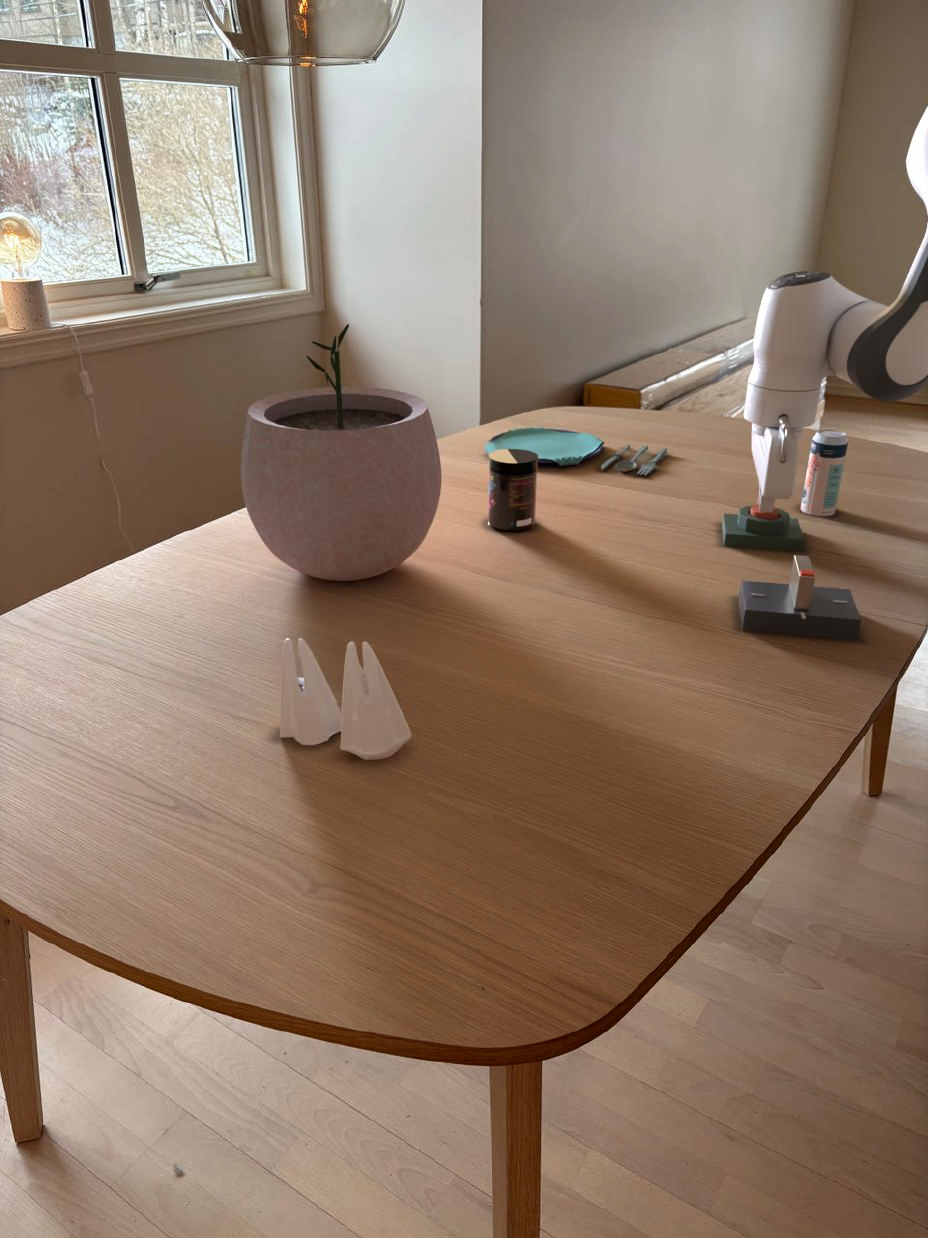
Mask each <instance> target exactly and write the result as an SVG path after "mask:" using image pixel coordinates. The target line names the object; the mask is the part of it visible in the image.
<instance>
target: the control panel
mask: <svg viewBox="0 0 928 1238" xmlns="http://www.w3.org/2000/svg"><path fill="white" fill-rule="evenodd" d="M738 607H739V616H740V624H741V630H742V631H745V632H756V633H769V634H780V635H789V636H791V635H792V636H800V637H801V636H802V637H812V638H813V637H814V638H823V639H834V640H845V641H855V642H857V641H858V637H859V634H860V633H859V632H860V627H861V623H862V618H861V616H860V613H859V610H858V608H857V604H856V602H855V600H854V596H853V594H852V591H851V590H850V589H849V588H837V587H826V586H815V585H814V588H813V593H812V599H811V604H810V610H809V611H808V610H797V609H794V606H793V602H792V598H791V593H790V589H789V583H779V582H767V581H766V582H765V581H752V580H741V581H740V586H739V594H738Z"/></svg>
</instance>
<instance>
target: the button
mask: <svg viewBox="0 0 928 1238" xmlns="http://www.w3.org/2000/svg"><path fill="white" fill-rule="evenodd" d="M751 506H752V507H751V512H750V515H751V516H753V517H757V518H761V519H776V518H778V513H779V510H778V509H777V508H778V507H775V506H774V510H773V512H771V513H764V512H761V511H760V510H759V505H758V504H755V506H753V505H751Z"/></svg>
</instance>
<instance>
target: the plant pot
mask: <svg viewBox="0 0 928 1238" xmlns="http://www.w3.org/2000/svg"><path fill="white" fill-rule="evenodd" d="M349 328H350V325H349V323H347V324H346V325H345V327H344V328H343V329H342V331H341V332H340V334H339V335H338V337H337V335H335V336H334V338H333V341H332V344H331V346H327V345H325V344H322V343H320V342H317V341H314V340H313V341H311V343H312V344H313V345H315V346H317V347H319V348H321V349H323V350H326V351H330V355H329V356H330V357H329V360H330V364H331V369H332V370H333V372H334V382H333V380H332V378H331V376H330V375H329V374H328V372H326V369H324V367H322V366H321V365H319V364H318V363H317V362H316V361H315V360H313V359H312V358H311V357H310V356H309V355H305V356H306V358H307V360H308V361H309V362H310V364H312V366H313V367H314V369H316V370H318V371H320V372H322V373H324V376H325V379H326V383H327V386H325V387H324V386H323V387H315V388H313V387H312V388H303V389H297V390H291V391H284V392H280V393H276V394H273V395H269V396H266V397H264V398H261V399H259V400H256V401H255V402H254V403H252V404H251V405H250V406H249V407H248V410H247V415H246V420H245V426H244V431H243V436H242V437H243V438H242V447H241V457H240V458H241V459H240V485H241V491H242V492H241V493H242V496H243V501H244V505H245V508H246V512H247V514H248V516H249V519H250V521H251V523H252V525H253V527H254V529H255V531H256V532H257V534H258V536H259V537H260V539H261V541H262V542H263V544H264V545H265V547H266V548H267V549H268V551H270V553H271V554H273V556H274V557H276V558H277V559H278V560H279V561H281V562H282V563H284V564H285V565H287V566H288V567H290V568H291V569H293V570H295V571H297V572H299V573H301V574H304V575H307V576H310V577H313V578H316V579H319V580H324V581H325V580H326V581H336V582H350V581H351V582H352V581H353V582H354V581H359V580H365V579H369V578H373V577H376V576H380V575H383V574H384V573H387V572H388V571H391V570H392V569H395V568H397V567H398V566H399V565H401V564H402V563H403V562H405V561H407V559H408V558H410V557H411V556H412V555H413V554H414V553H416V551H417V550H418V549H419V548H420V547H421V545H422V544H423V542H424V541H425V539H426V537H427V535H428V533H429V531H430V528H431V526H432V524H433V522H434V519H435V517H436V514H437V510H438V507H439V502H440V497H441V491H442V466H441V465H442V464H441V457H440V451H439V445H438V440H437V436H436V432H435V428H434V424H433V421H432V417H431V414H430V409H429V407H428V405H427V402H426V401H425V400H424V399H422V398H421V397H419V396H418V395H414V394H410V393H408V392H404V391H399V390H394V389H388V388H381V387H380V388H378V387H369V386H368V387H367V386H342V377H341V375H342V374H341V361H340V360H341V359H340V358H341V357H340V350H339V348H340V345H341V344H342V342H343V340H344V338H345V335H346V334H347V331H348V329H349ZM329 383H330V385H329Z"/></svg>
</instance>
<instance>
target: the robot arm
mask: <svg viewBox="0 0 928 1238" xmlns="http://www.w3.org/2000/svg"><path fill="white" fill-rule="evenodd" d="M905 158H906V159H905V166H906V172H907V176H908V179H909V181H910V184H911V186H912V188H913V190H914V191H915V192H916V194H917V195H918V196H919V197H920V199H921V200H922V201H923V203H924V206H925V208H926V213H927V214H928V106H927V107H926V108H925V111H924V112H923V114H922V116H921V118H920V120H919V122H918V125H917V126H916V128H915V130H914V133H913V136H912V138H911V141H910V144H909V148H908V150H907V154H906V157H905ZM924 234H925V235H924V237H923V238H922V241H921V244H920V246H919V248H918V250H917V253H916V255H915V258H914V260H913V262H912V264H911V267H910V268H909V271H908V273H907V276H906V279H905V281H904V282H903V285H902V286H901V289H900V291H899V294H898V296H897V297H896V299H895V300H894V301H893V302H892V303H891V304H890V305H886V304H884V303H882V302H879V301H874V300H871V299H869V298H867V297H864V296H863V295H860V294H858V293H855V292H854V291H852V290H850V289H848V288H847V287H845V286H844V285H842V284H841V283H839V282H838V281H837V280H836V279H835V278H834V277H833V275H832V274H831V273H829V272H827V271H822V270H807V271H806V270H802V271H795V272H789V273H786V274H782V275H780V276H778V277H776V278H775V279H773V280H772V281H771V282H769V284H768V285H767V287H766V288H765V291H764V293H763V296H762V298H761V303H760V306H759V309H758V313H757V319H756V324H755V329H754V335H753V341H752V350H753V365H752V368H751V371H750V374H749V376H748V379H747V386H746V387H747V389H746V394H745V395H746V396H745V401H744V410H743V418H744V420H746V421H747V422H749V423H751V454H752V458H753V462H754V463H753V464H754V467H755V471H756V476H757V478H758V479H757V480H758V484H759V486H758V489H759V490H758V498H757V505H759V510H760V511H761V512H764V513H771V512H773V510H774V507H775V503H776V500H777V499H779V500H789V499H791V498H792V496H793V493H794V490H795V484H796V476H797V469H798V461H799V451H800V441H799V439H800V438H799V437H802V436H803V434H804V428H807V427H810V426H812V425H814V424H815V422H816V418H817V412H818V407H819V401H820V395H821V387H822V383H823V380H824V379H825V378H826V377H830V376H836V377H838V378H839V379H841V380H843V381H845V382H847V383H849V384H851V385H854V386H855V387H856V388H858V389H859V390H860V391H861V392H863V393H864V394H866V395H867V396H868V397H870V398H872V399H874V400H876V401H880V402H896V401H901V400H903V399H907V398H909V397H911V396H912V395H915V394H916V393H918V392H919V391H921V390H922V389H923V388H925V386H927V384H928V223H927V225H926V231H925V233H924Z"/></svg>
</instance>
